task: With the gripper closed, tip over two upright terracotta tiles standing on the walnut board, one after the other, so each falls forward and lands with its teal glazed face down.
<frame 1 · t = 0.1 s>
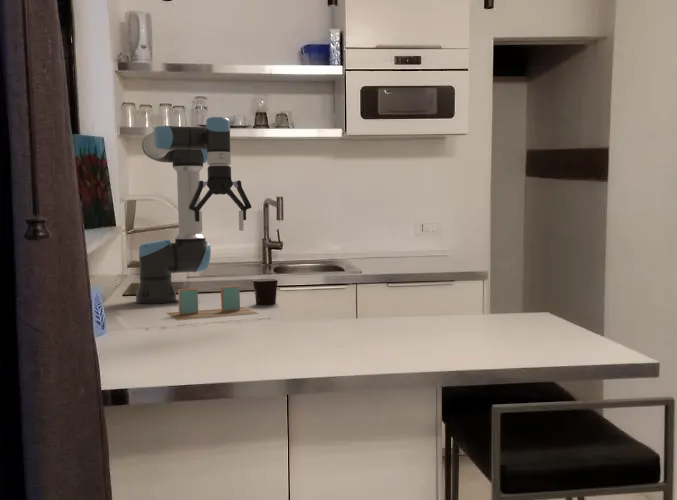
hand: (221, 231, 232), 28 cm above the counter, fingers open, 13 cm apart
tile b: (230, 310, 235), point 1 cm above the counter, touching board
coffee mug: (267, 308, 251), on the counter
board: (212, 317, 230), on the counter
tile a: (188, 313, 230), point 1 cm above the counter, touching board
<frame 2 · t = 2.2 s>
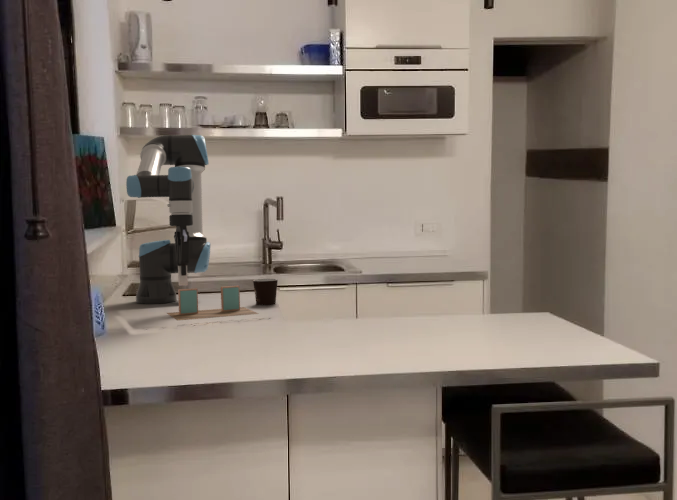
hand: (183, 285, 235), 10 cm above the counter, fingers closed
nothing on the counter moved.
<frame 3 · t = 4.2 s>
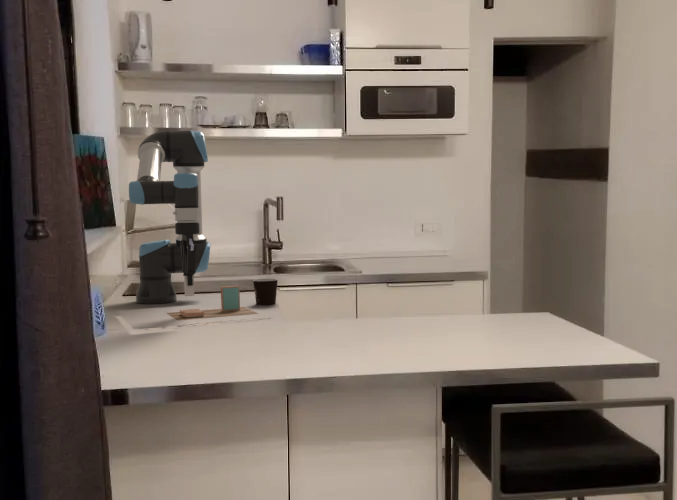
hand: (189, 295, 227), 8 cm above the counter, fingers closed
tile a: (189, 311, 229), point 2 cm above the counter, tilted 90°, touching board
everything else where it was.
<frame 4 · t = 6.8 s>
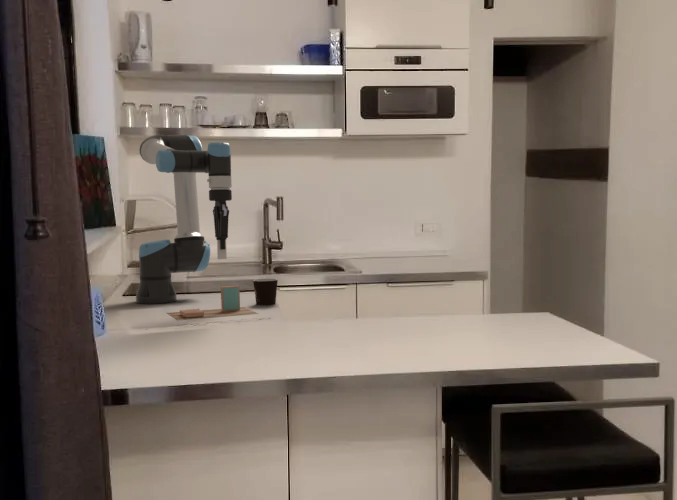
hand: (222, 259, 240), 18 cm above the counter, fingers closed
nothing on the counter moved.
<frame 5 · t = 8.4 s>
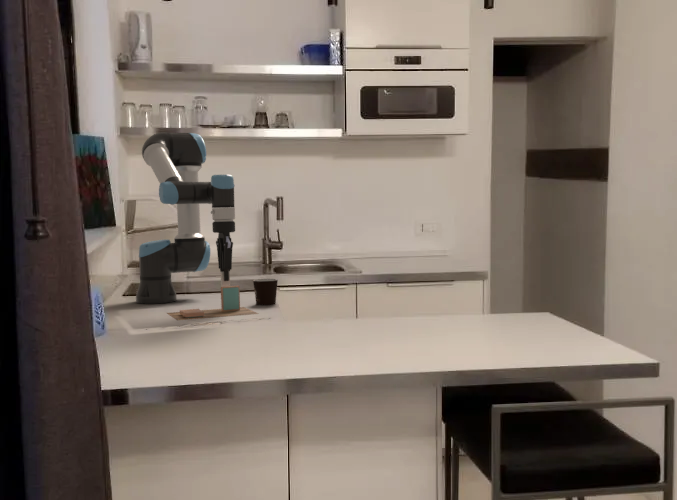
hand: (225, 290, 240), 8 cm above the counter, fingers closed
nothing on the counter moved.
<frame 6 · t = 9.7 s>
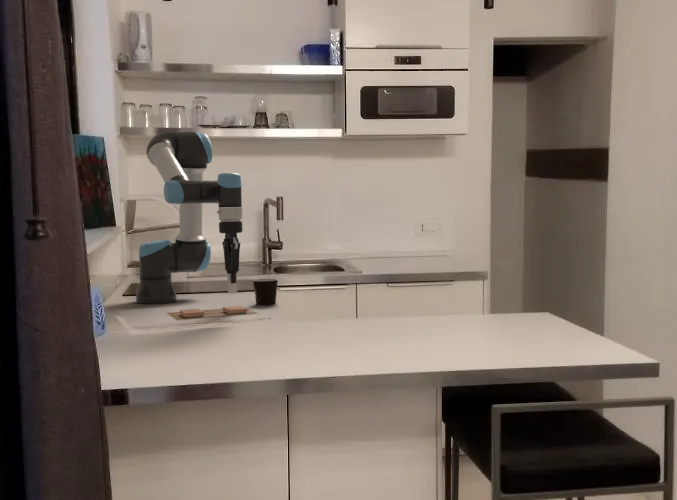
hand: (232, 292, 233), 8 cm above the counter, fingers closed
tile b: (231, 308, 235), point 2 cm above the counter, tilted 90°, touching board
everything else where it was.
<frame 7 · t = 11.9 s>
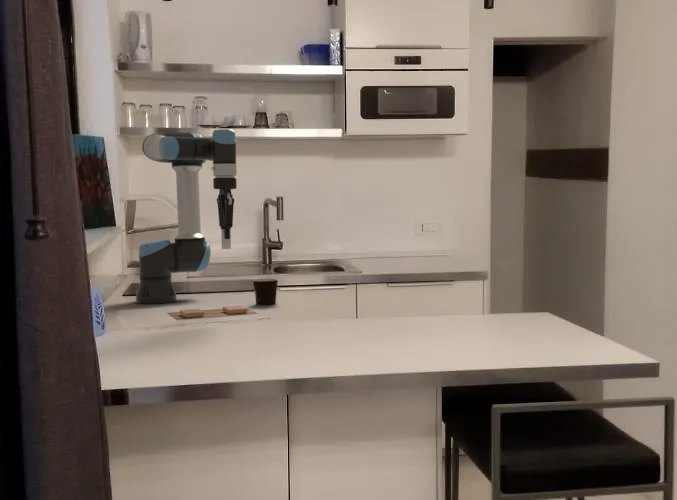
hand: (226, 248, 235), 22 cm above the counter, fingers closed
nothing on the counter moved.
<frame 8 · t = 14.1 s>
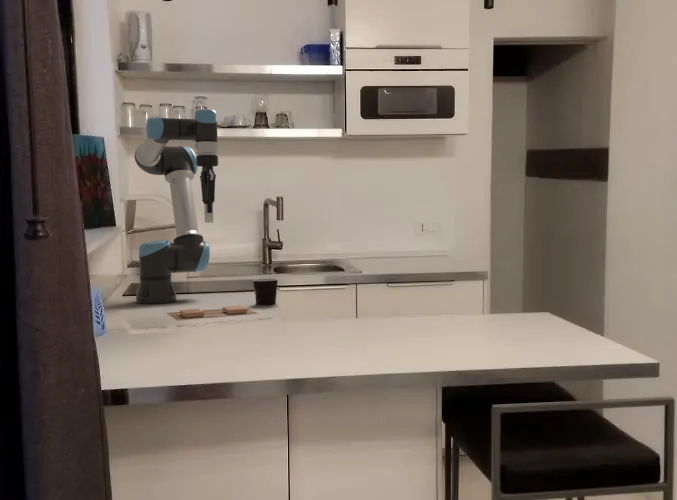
hand: (209, 222, 249), 30 cm above the counter, fingers closed
nothing on the counter moved.
at the end: tile a tilted 90°; tile b tilted 90°; tile a 7.3 cm from the board (horizontally) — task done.
